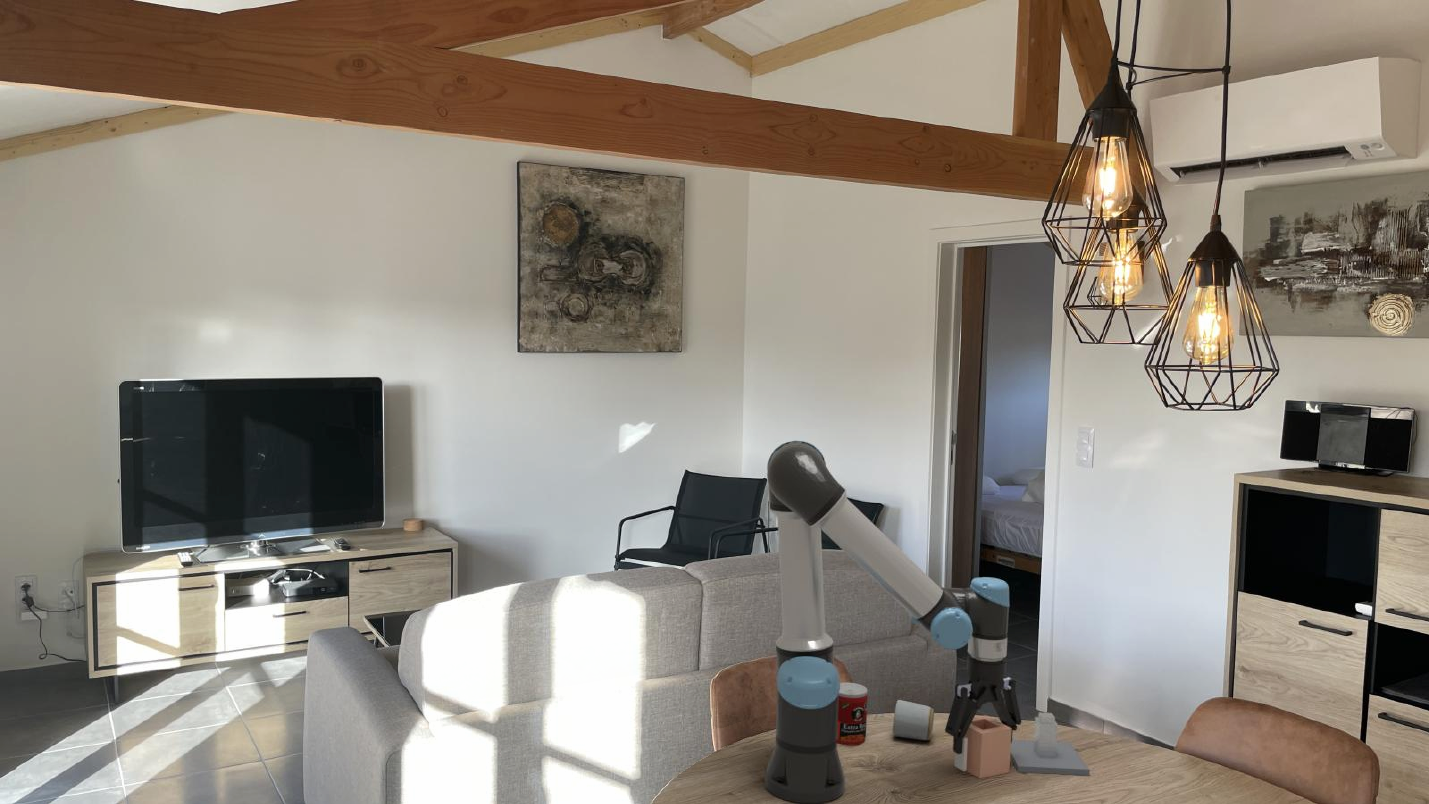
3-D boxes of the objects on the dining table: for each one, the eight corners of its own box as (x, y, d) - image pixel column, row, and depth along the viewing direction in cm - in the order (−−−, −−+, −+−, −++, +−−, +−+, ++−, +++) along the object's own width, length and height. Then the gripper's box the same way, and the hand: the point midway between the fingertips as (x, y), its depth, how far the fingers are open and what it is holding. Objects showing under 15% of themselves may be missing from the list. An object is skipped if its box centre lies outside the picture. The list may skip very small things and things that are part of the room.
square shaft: (1038, 756, 211) (1040, 717, 211) (1033, 749, 215) (1035, 711, 214) (1056, 757, 211) (1058, 718, 210) (1051, 750, 215) (1053, 712, 214)
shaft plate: (1018, 771, 206) (1018, 766, 206) (1002, 744, 220) (1002, 739, 220) (1089, 775, 206) (1089, 769, 206) (1069, 747, 220) (1069, 742, 219)
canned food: (840, 747, 216) (842, 696, 215) (823, 733, 223) (825, 684, 223) (872, 743, 219) (874, 692, 218) (854, 729, 226) (856, 680, 226)
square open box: (979, 778, 203) (982, 733, 202) (954, 763, 209) (956, 720, 209) (1009, 772, 206) (1011, 728, 205) (983, 758, 213) (985, 715, 212)
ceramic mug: (930, 746, 218) (932, 710, 218) (891, 741, 220) (893, 705, 220) (934, 729, 228) (936, 695, 228) (897, 724, 231) (898, 690, 230)
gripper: (954, 668, 198) (949, 780, 199) (1043, 655, 208) (1038, 761, 210) (929, 657, 204) (924, 765, 206) (1017, 644, 215) (1012, 748, 216)
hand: (981, 763), depth 208 cm, fingers open, 10 cm apart
